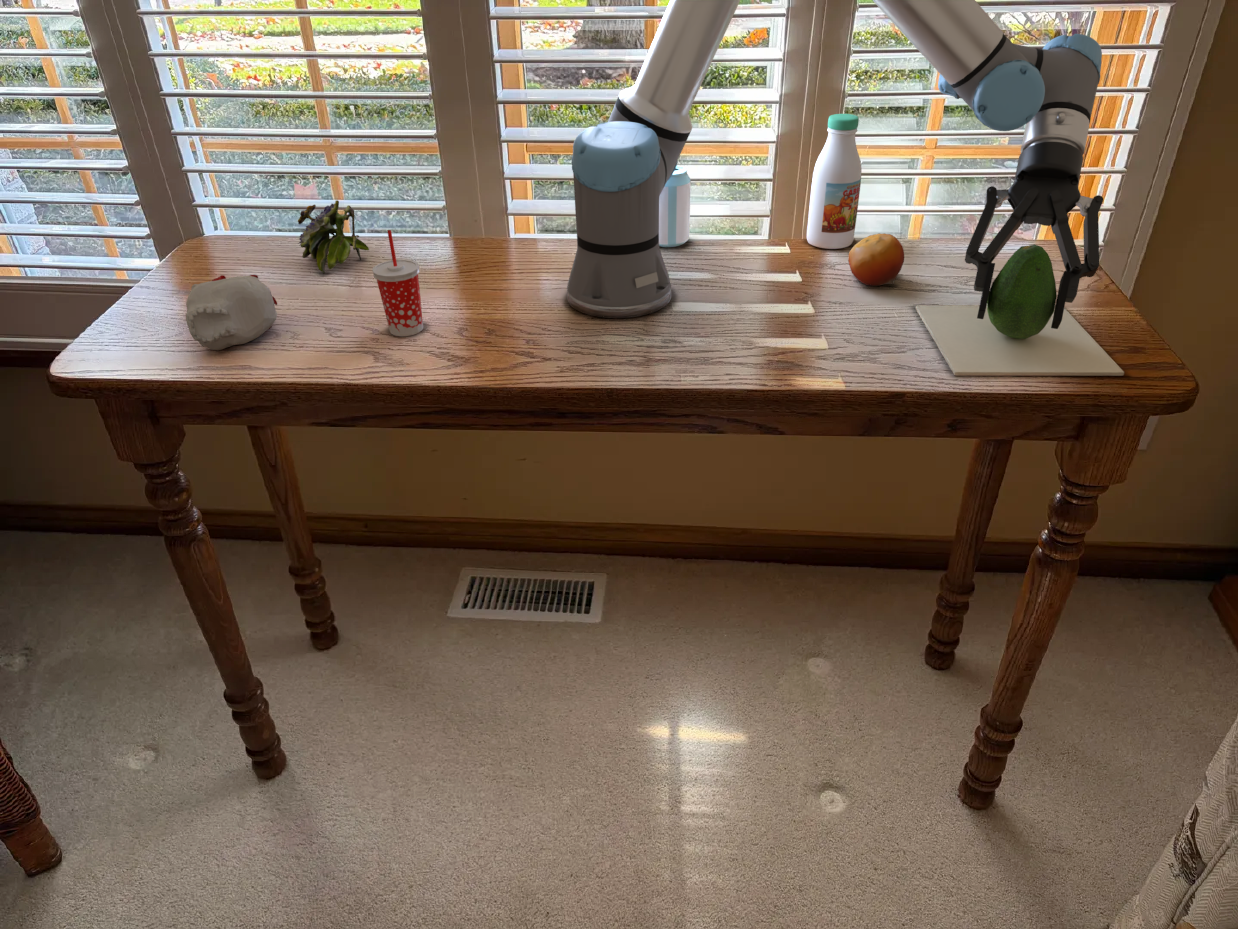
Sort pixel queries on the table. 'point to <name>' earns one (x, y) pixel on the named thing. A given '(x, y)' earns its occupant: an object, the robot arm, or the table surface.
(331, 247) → the passion flower
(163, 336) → the table surface
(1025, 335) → the avocado
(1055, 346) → the corner mat
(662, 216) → the can
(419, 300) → the beverage cup
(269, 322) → the grey rounded lump
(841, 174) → the milk bottle
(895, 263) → the fruit
